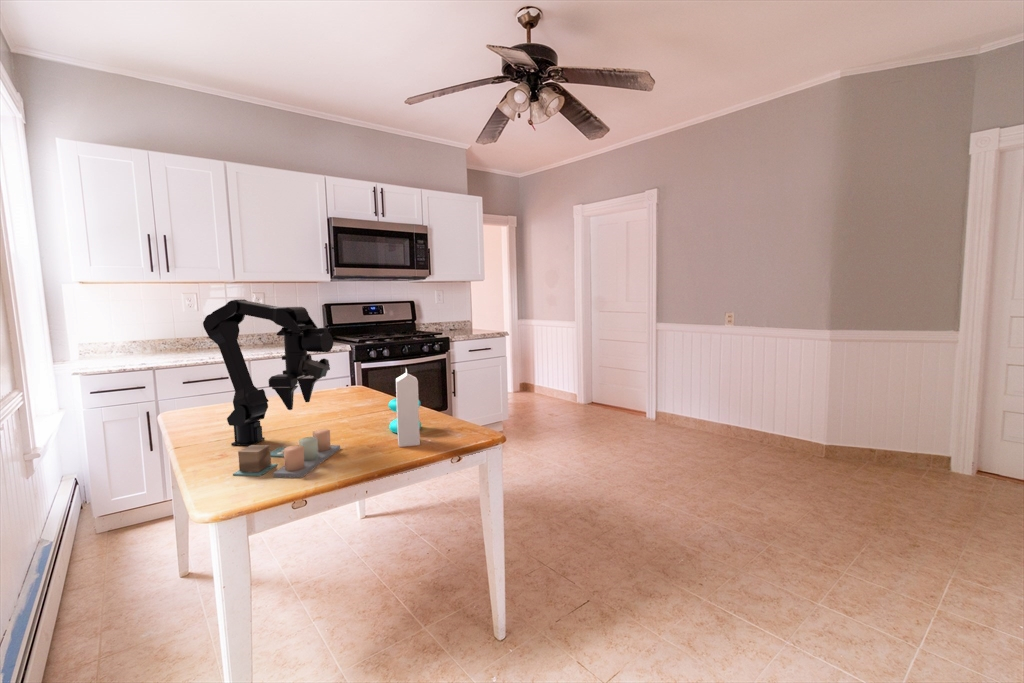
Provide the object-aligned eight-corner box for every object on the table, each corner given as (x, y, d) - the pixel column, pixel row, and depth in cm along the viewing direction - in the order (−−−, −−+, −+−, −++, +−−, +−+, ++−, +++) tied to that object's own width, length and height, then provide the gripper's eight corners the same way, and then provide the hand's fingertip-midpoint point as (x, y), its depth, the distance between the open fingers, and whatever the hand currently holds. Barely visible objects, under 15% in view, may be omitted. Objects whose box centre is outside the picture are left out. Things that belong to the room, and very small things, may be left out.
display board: (273, 477, 111) (271, 452, 111) (316, 448, 132) (315, 427, 132) (301, 477, 111) (299, 453, 110) (340, 448, 132) (339, 428, 131)
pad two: (232, 475, 113) (232, 472, 113) (251, 464, 120) (251, 462, 120) (260, 476, 112) (260, 473, 112) (277, 465, 119) (277, 463, 119)
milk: (398, 447, 133) (395, 371, 130) (397, 441, 138) (394, 367, 136) (420, 445, 134) (417, 369, 132) (418, 438, 140) (415, 366, 138)
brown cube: (259, 471, 113) (257, 451, 113) (239, 471, 114) (238, 451, 113) (271, 464, 118) (269, 445, 118) (252, 464, 119) (251, 445, 118)
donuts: (415, 403, 143) (383, 403, 144) (416, 435, 144) (384, 434, 145) (424, 396, 153) (394, 396, 154) (424, 425, 154) (395, 425, 155)
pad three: (265, 456, 126) (265, 454, 126) (280, 448, 133) (279, 446, 133) (290, 457, 125) (290, 455, 125) (303, 448, 132) (303, 446, 132)
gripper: (306, 356, 121) (309, 414, 123) (338, 347, 139) (340, 398, 141) (265, 356, 122) (269, 414, 123) (302, 347, 140) (305, 398, 142)
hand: (299, 405), depth 132 cm, fingers open, 9 cm apart
